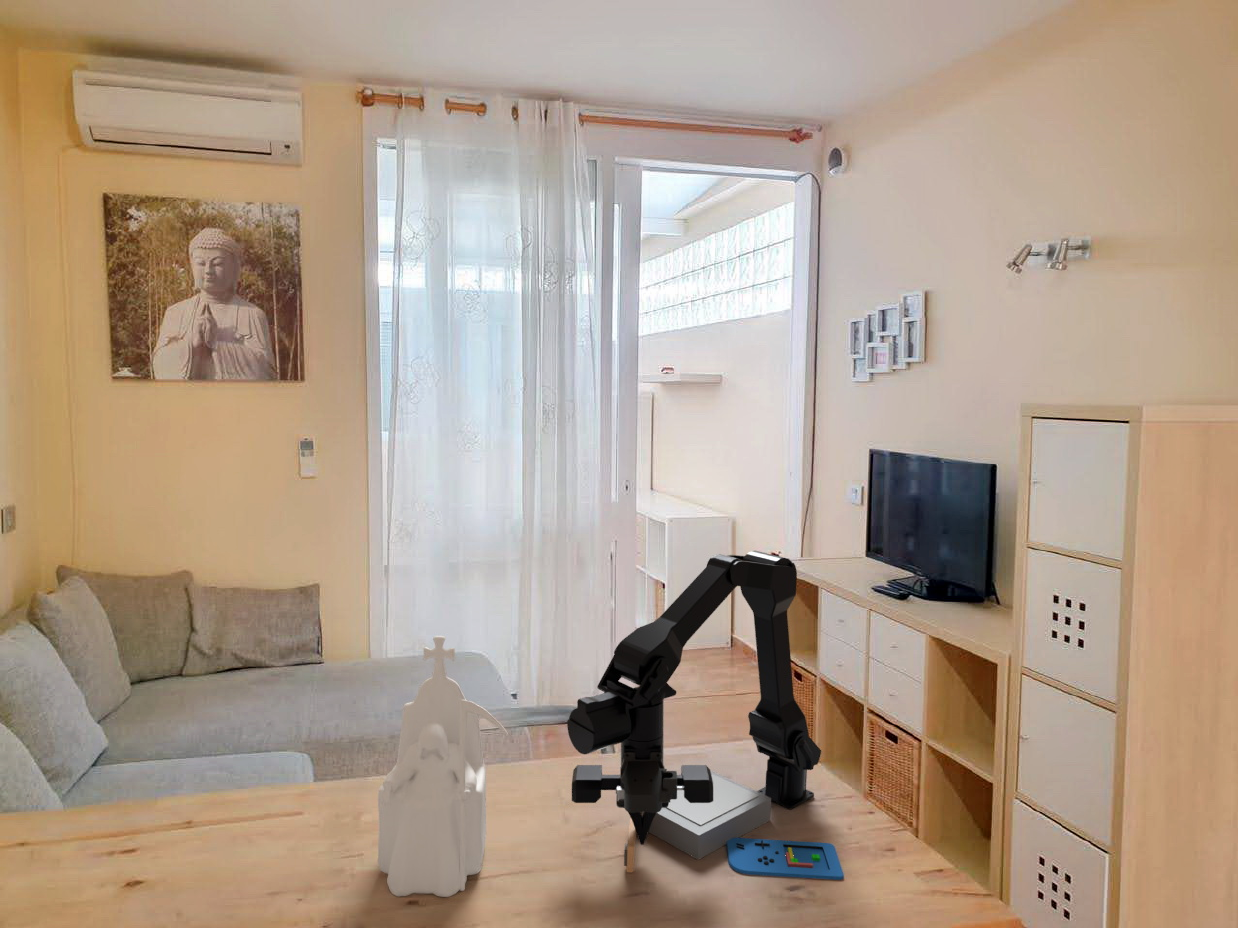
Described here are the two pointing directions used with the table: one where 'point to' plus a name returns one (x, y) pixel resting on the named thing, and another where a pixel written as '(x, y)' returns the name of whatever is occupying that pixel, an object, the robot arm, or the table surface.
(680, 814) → the case
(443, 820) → the religious statue
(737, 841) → the handheld gaming device
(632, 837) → the case door
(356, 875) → the table surface
